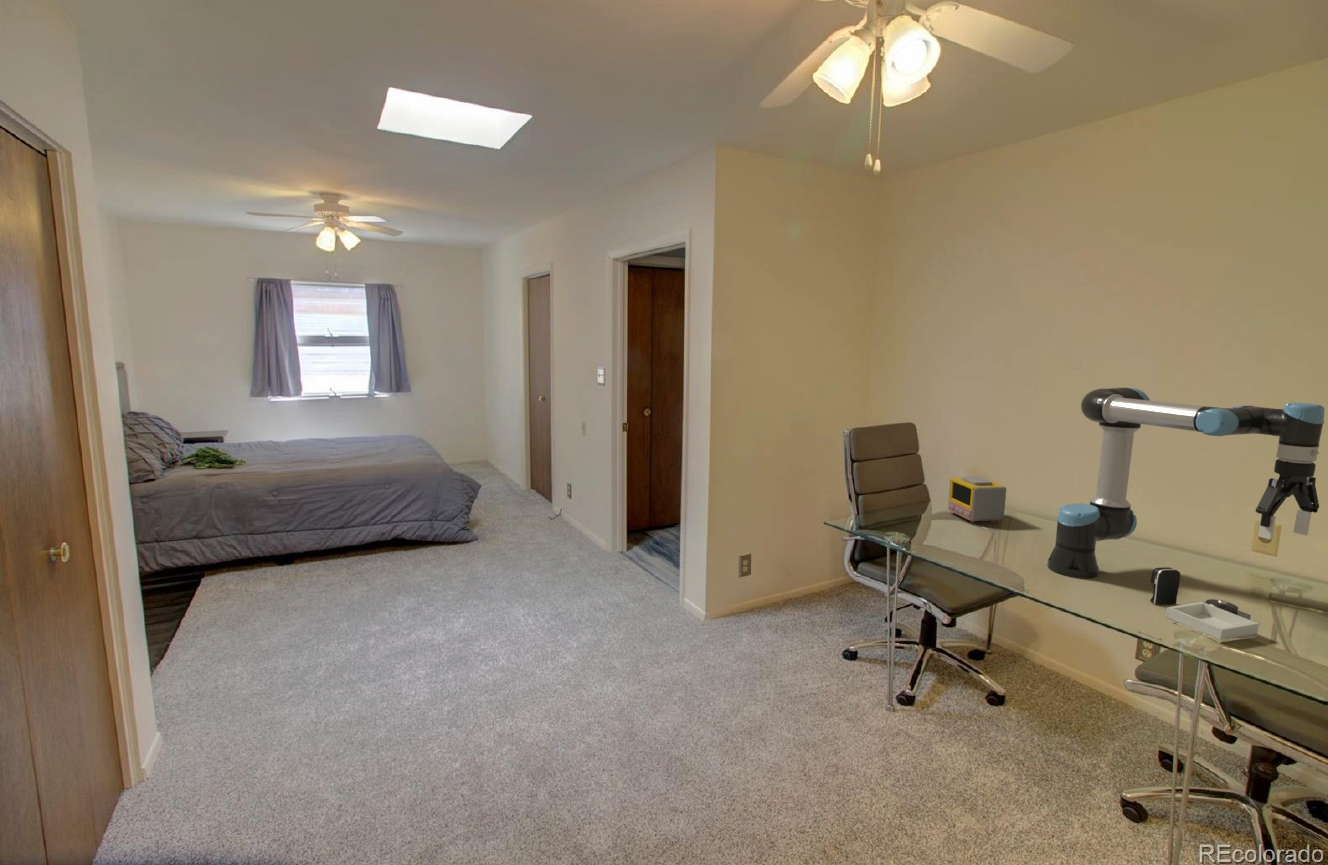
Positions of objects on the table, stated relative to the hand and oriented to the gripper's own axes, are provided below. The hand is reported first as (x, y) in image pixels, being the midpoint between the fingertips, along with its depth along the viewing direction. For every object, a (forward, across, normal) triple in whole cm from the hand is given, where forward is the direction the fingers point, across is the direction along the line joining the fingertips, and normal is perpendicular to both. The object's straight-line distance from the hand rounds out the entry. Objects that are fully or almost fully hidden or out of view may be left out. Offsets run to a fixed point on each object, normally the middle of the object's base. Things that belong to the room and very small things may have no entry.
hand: (1282, 536), depth 164 cm
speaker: (+28, -2, +10) cm, 30 cm away
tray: (+28, -14, +5) cm, 32 cm away
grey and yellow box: (+28, -2, +110) cm, 113 cm away
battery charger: (+28, -10, +21) cm, 37 cm away
